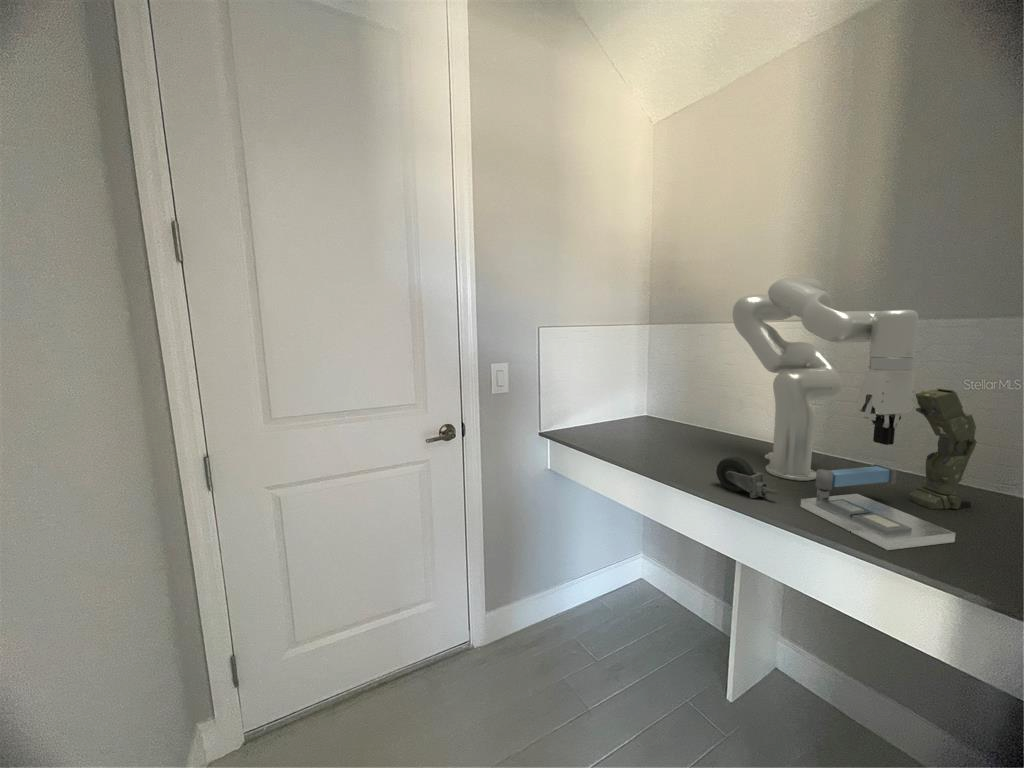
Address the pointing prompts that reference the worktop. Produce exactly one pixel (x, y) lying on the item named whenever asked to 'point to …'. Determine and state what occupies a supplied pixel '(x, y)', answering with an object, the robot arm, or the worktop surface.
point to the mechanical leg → (945, 449)
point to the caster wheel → (742, 477)
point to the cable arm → (855, 476)
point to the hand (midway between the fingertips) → (883, 443)
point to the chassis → (876, 521)
